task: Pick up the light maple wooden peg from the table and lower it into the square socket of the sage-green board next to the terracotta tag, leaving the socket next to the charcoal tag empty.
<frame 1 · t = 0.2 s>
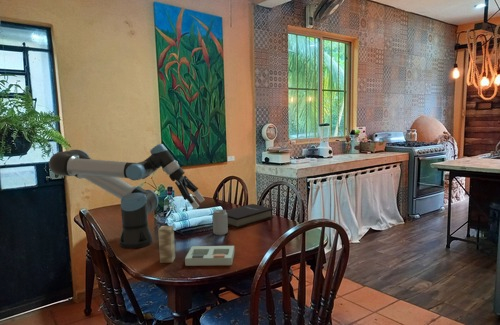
hand: (200, 204, 176), 15 cm above the table, tool tilted 35°, fingers open, 13 cm apart
can: (220, 233, 178), on the table
maple peg: (167, 260, 145), on the table
socket board: (211, 258, 145), on the table
book: (244, 220, 202), on the table
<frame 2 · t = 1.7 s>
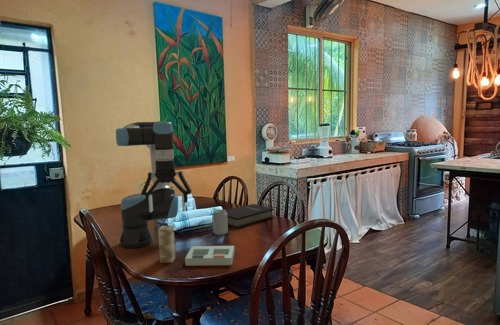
hand: (167, 211, 143), 21 cm above the table, tool pointing down, fingers open, 13 cm apart
nothing on the table moved.
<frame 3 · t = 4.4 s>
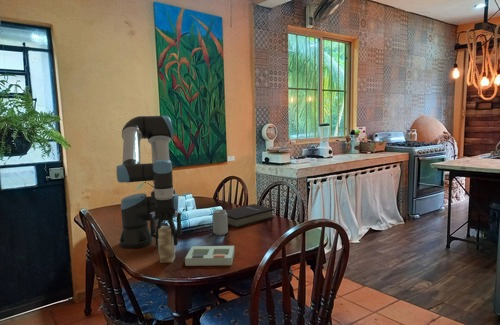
hand: (167, 252, 144), 3 cm above the table, tool pointing down, fingers closed on maple peg, 5 cm apart
maple peg: (167, 260, 145), on the table, touching gripper
everything else where it was.
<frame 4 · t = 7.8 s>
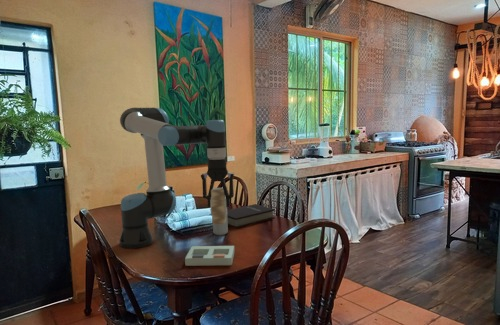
hand: (219, 214, 143), 19 cm above the table, tool pointing down, fingers closed on maple peg, 5 cm apart
maple peg: (219, 222, 143), point 16 cm above the table, touching gripper
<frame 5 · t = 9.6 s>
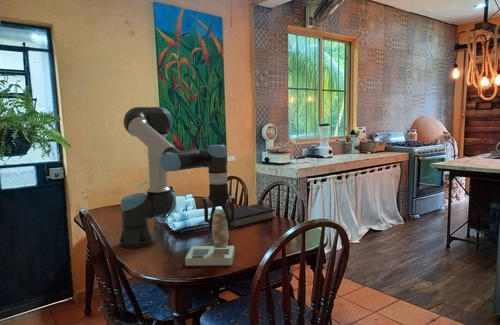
hand: (220, 238, 144), 9 cm above the table, tool pointing down, fingers closed on maple peg, 5 cm apart
maple peg: (221, 245, 144), point 6 cm above the table, touching gripper
when the fingers open (5 cm above the table, at t = 11.1 s): maple peg drops 1 cm, resting in socket board.
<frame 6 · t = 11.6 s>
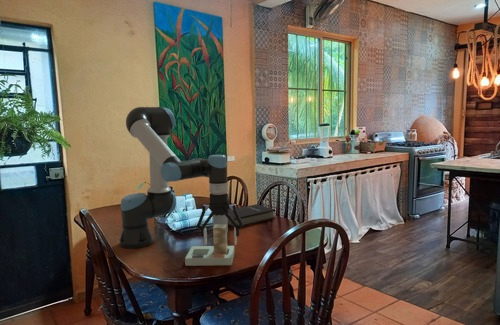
hand: (220, 244, 144), 6 cm above the table, tool pointing down, fingers open, 12 cm apart
maple peg: (221, 258, 145), resting in socket board
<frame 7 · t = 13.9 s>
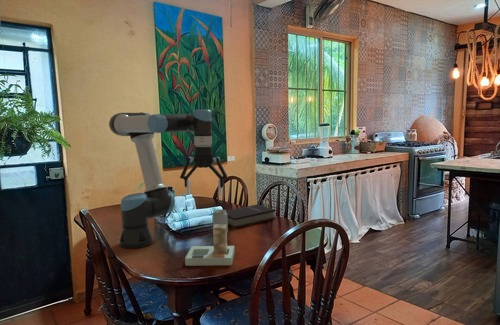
hand: (204, 194, 151), 25 cm above the table, tool pointing down, fingers open, 13 cm apart
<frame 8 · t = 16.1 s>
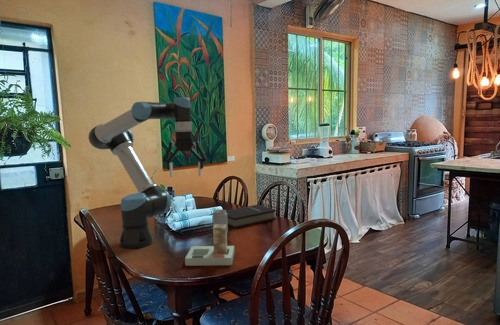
hand: (185, 176, 164), 32 cm above the table, tool pointing down, fingers open, 13 cm apart
at the end: maple peg 0.1 cm from the target spot on the socket board, point 0.0 cm above the socket board's base; maple peg tilted 0°; the gripper is holding nothing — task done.
